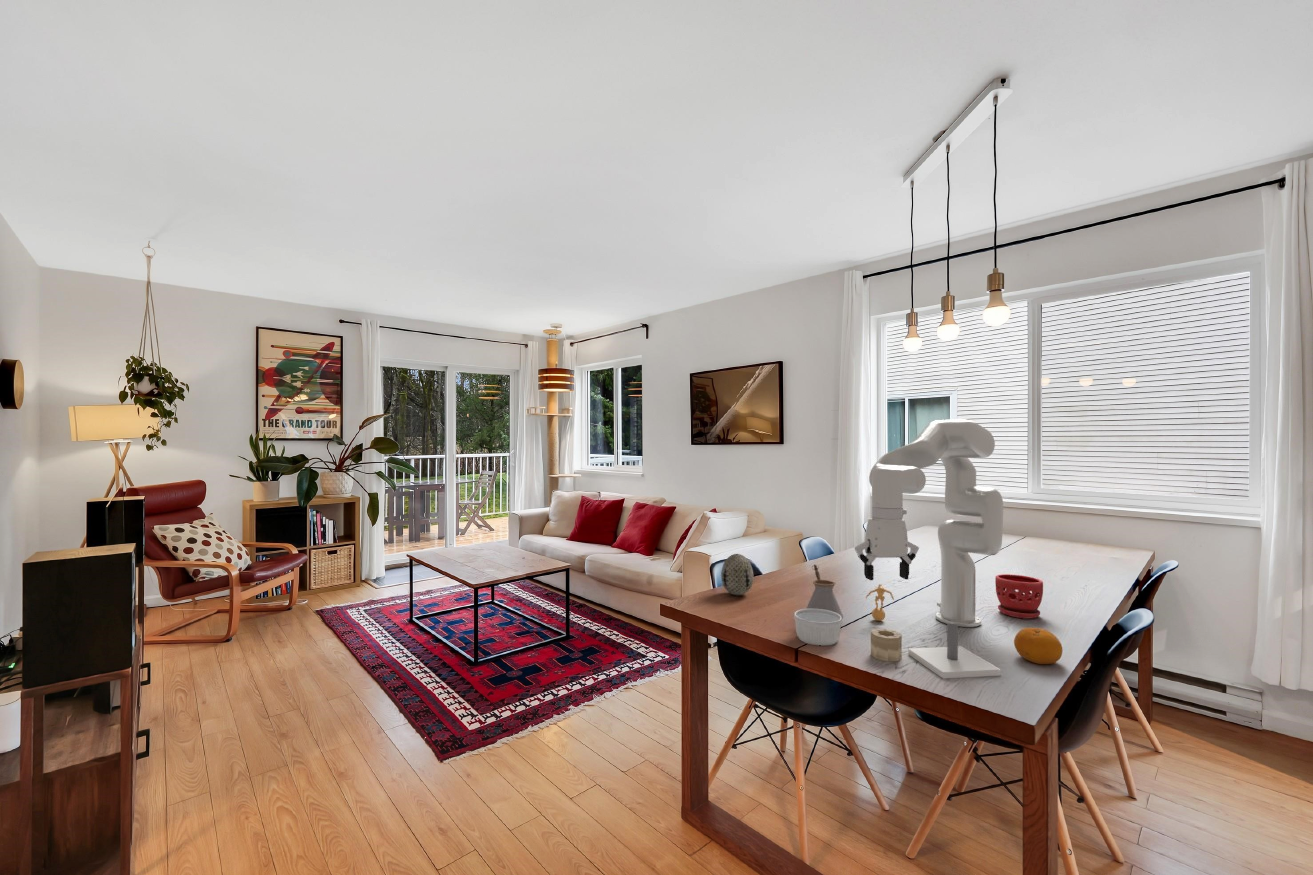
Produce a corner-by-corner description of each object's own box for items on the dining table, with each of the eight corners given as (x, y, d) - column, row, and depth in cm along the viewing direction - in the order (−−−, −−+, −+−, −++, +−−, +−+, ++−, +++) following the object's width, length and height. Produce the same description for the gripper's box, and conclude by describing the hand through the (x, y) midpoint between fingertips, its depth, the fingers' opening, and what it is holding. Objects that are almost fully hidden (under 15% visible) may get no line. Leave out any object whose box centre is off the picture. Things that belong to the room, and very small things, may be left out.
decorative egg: (760, 596, 202) (760, 555, 202) (734, 601, 197) (734, 558, 196) (739, 588, 213) (739, 549, 212) (714, 593, 207) (714, 552, 207)
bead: (867, 651, 151) (867, 629, 151) (891, 650, 152) (891, 628, 152) (880, 661, 144) (880, 638, 144) (905, 660, 145) (906, 637, 145)
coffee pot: (847, 630, 167) (847, 580, 167) (807, 629, 168) (807, 579, 168) (832, 608, 188) (832, 564, 188) (797, 607, 189) (797, 563, 189)
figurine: (890, 619, 178) (890, 581, 178) (895, 625, 172) (896, 586, 172) (863, 617, 179) (863, 580, 179) (867, 624, 173) (867, 585, 173)
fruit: (1009, 660, 145) (1009, 629, 145) (1019, 649, 152) (1019, 620, 152) (1058, 673, 138) (1058, 640, 138) (1066, 660, 145) (1066, 630, 145)
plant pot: (1052, 621, 176) (1052, 582, 176) (1010, 620, 176) (1010, 582, 176) (1026, 608, 189) (1026, 572, 189) (986, 607, 189) (987, 572, 189)
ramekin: (806, 627, 170) (806, 605, 170) (849, 637, 161) (849, 613, 161) (786, 640, 160) (786, 616, 160) (831, 651, 151) (831, 626, 151)
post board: (908, 654, 149) (908, 614, 149) (960, 651, 151) (960, 612, 151) (943, 678, 134) (943, 634, 134) (1000, 675, 136) (1001, 632, 136)
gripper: (909, 511, 153) (909, 574, 153) (849, 512, 151) (848, 575, 151) (926, 515, 145) (925, 581, 145) (862, 516, 143) (862, 583, 143)
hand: (886, 578), depth 148 cm, fingers open, 9 cm apart
